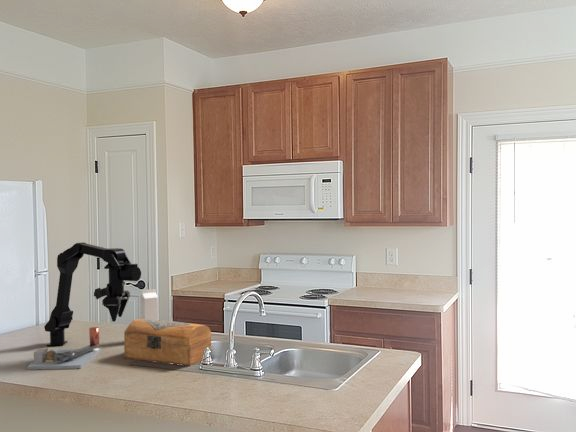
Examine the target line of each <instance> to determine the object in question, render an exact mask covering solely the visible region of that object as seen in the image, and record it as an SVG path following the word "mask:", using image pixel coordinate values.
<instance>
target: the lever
mask: <svg viewBox="0 0 576 432" xmlns="http://www.w3.org/2000/svg"><path fill="white" fill-rule="evenodd" d="M88 330H89V345H86V346H84V347H81V348H77V349H78V350H75V351H71V352H65V353H57V354H54V360H55V361H65V360H67V359H72V358H75V357H76V356H77V355H80V354H82V353H85V352H87V351H90V350H92V349H95V348H98V346H99V345H100V327H99V326H93V327H89V328H88Z"/></svg>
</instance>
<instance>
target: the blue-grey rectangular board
mask: <svg viewBox="0 0 576 432" xmlns="http://www.w3.org/2000/svg"><path fill="white" fill-rule="evenodd" d="M78 349H79V348H53V349H51V350H53V351H55V352H56V354H57V353H65V352H71V351H75V350H78ZM47 352H48V348H38V349H37V350H35V351H33V362H31V363H30V364H29V365H27V366H26V370H28V371H30V370H31V371H33V370H34V371H35V370H36V371H37V370H38V369H41V370H73V369H75V370H76V369H77V368H81V369H82V368H84V366H86V365H87V364H88V363H89V362H90V361H91V360H93V359H94V358H95V357H96V356H97V355H98V354H99V353H101V347H97V348H95V349H92V350H90V351H87V352H85V353H82V354H80V355H77V356H76V357H75V358H72V359H67V360H65V361H55V360H54V359H51V360H48V359H47V358H46V354H47ZM85 364H86V365H85ZM77 370H78V369H77Z"/></svg>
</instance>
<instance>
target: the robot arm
mask: <svg viewBox="0 0 576 432" xmlns="http://www.w3.org/2000/svg"><path fill="white" fill-rule="evenodd" d="M84 255H88V256H92V257H95V258H100V259H101V260H102V261H104V262H105V263H107V264H106V265H105V266H104V267H103V268H104V270H108V283H107V284H106V287H103V288H100V287H98V288H96V289H94V292H93V297H95V299H96V300H99V299H101V298H103V297H104V298H103V299H102V306H104V307H106V309H108V311H109V312H108V313H109V315H110V318H111V321H112V322H116V320H117V317H119V318H121V317H122V316H123V313H124V312H125V310H126V307H127V304H128V302H129V300H130V298H131V291H129V290H125V285H126V282H127V281H128V282H138V281H139V280H140V279H141V277H142V271H141V269H140V267H139V266H138V263H132V262H131V261H130V259H129V258H128V256H127V255H128V254H126V252H125V250H124V249H123V248H121V247H119V248H116V247H115V248H111V247H110V248H106V247H102V246H98V245H94V244H89V243H86V242H84V241H83V242H76V243H74V244H73V245H72V246H71V247H69V248H67V249H65V250H64V251H63V252H61V253H59V254H58V255H57V257H56V266H57V269H58V271H59V278H58V279H59V280H58V286H57V287H58V289H57V294H56V303H55V307H54V308H53V309H52V310H51V312H50V315H49V320H48V321H47V322H46V324H45V325H44V326H43V328H44V332H49V343H47V344H46V346H47V347H49V346H50V347H51V346H52V347H53V346H54V347H56V346H57V347H58V346H61V347H62V346H65V345H66V344H67V343H68V340H66V338H65V332H66V331H65V330H66V329H69V328H70V324H71V323H72V321H73V315H74V311H73V310H72V309H71V308H70V298H71V288H72V283H73V274H74V272H75V271H76V270H77V268H78V266H79V262H80V260H81V259H82V258H83V257H84Z"/></svg>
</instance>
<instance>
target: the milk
mask: <svg viewBox="0 0 576 432" xmlns="http://www.w3.org/2000/svg"><path fill="white" fill-rule="evenodd" d="M156 291H157V289H156V288H152V289H142V291H141V293H142V294H141V295H140V296H139V297H140V298H139V299H140V300H139V301H140V307H139V308H140V319H148V320H159V297H158V294H157V293H156Z"/></svg>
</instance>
